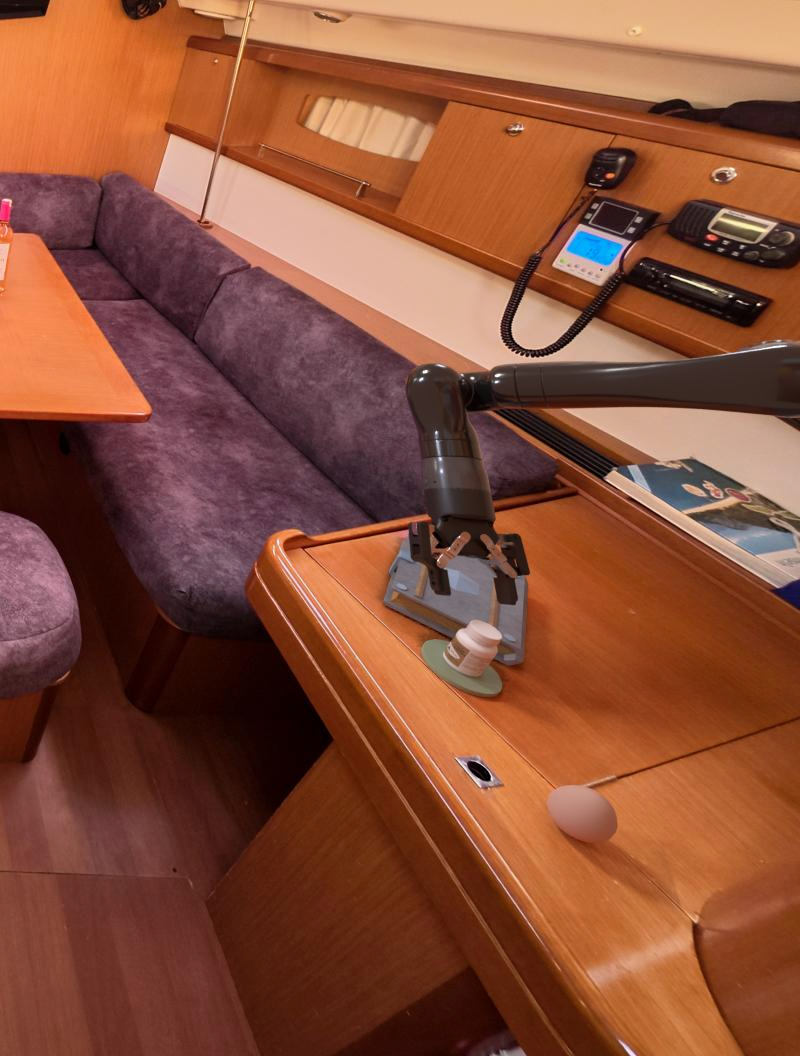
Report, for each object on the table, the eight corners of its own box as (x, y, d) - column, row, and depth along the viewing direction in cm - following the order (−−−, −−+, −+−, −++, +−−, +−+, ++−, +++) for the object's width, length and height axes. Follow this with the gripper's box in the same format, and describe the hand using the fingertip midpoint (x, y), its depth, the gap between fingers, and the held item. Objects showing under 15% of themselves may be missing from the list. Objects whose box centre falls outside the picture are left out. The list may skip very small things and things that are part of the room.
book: (514, 671, 93) (532, 649, 91) (378, 603, 104) (391, 582, 101) (519, 595, 106) (535, 574, 104) (398, 542, 117) (410, 522, 115)
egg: (571, 808, 76) (603, 777, 73) (611, 858, 72) (646, 826, 69) (524, 800, 77) (554, 768, 74) (560, 848, 72) (593, 817, 69)
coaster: (497, 666, 94) (499, 663, 93) (502, 710, 88) (505, 706, 87) (420, 632, 99) (422, 628, 99) (420, 671, 93) (422, 667, 92)
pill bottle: (437, 646, 96) (461, 612, 92) (474, 658, 94) (499, 623, 91) (447, 670, 92) (472, 635, 89) (485, 682, 90) (512, 647, 87)
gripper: (424, 481, 94) (442, 594, 89) (530, 493, 92) (554, 610, 87) (388, 485, 101) (402, 590, 96) (486, 497, 99) (505, 605, 94)
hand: (475, 599), depth 92 cm, fingers open, 8 cm apart
